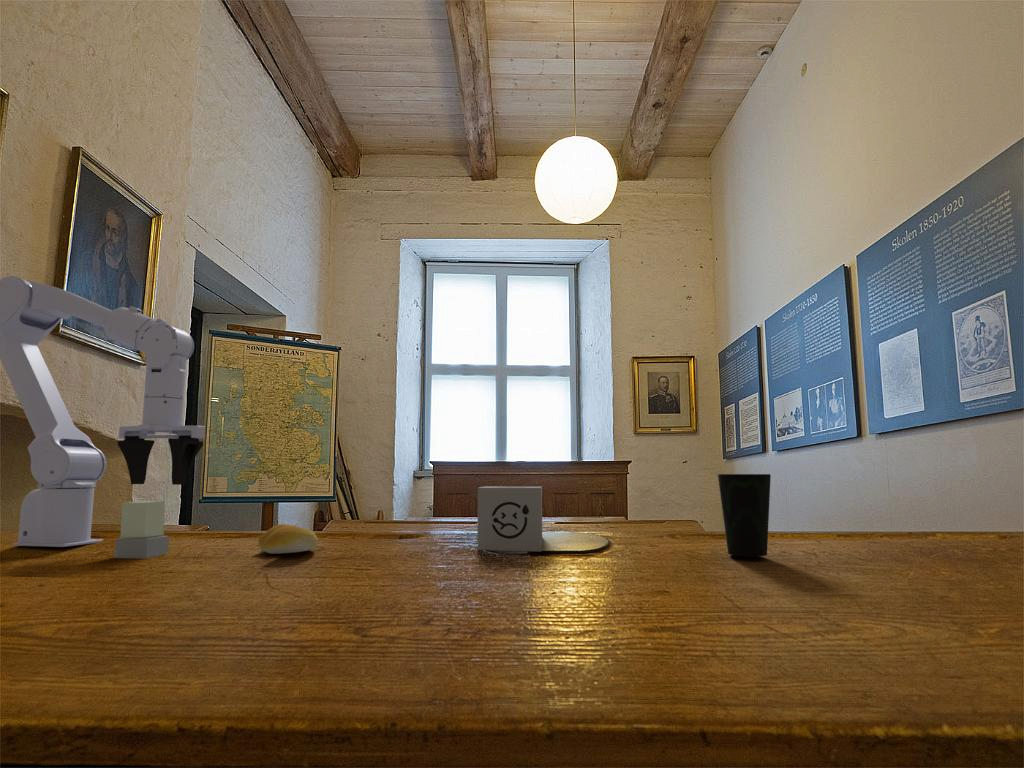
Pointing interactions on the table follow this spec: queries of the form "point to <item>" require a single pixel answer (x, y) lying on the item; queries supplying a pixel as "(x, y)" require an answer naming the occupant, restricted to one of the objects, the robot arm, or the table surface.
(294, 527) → the bread roll
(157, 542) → the grey block
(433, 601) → the table surface
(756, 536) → the cup
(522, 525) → the icon cube
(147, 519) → the sage block
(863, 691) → the table surface
